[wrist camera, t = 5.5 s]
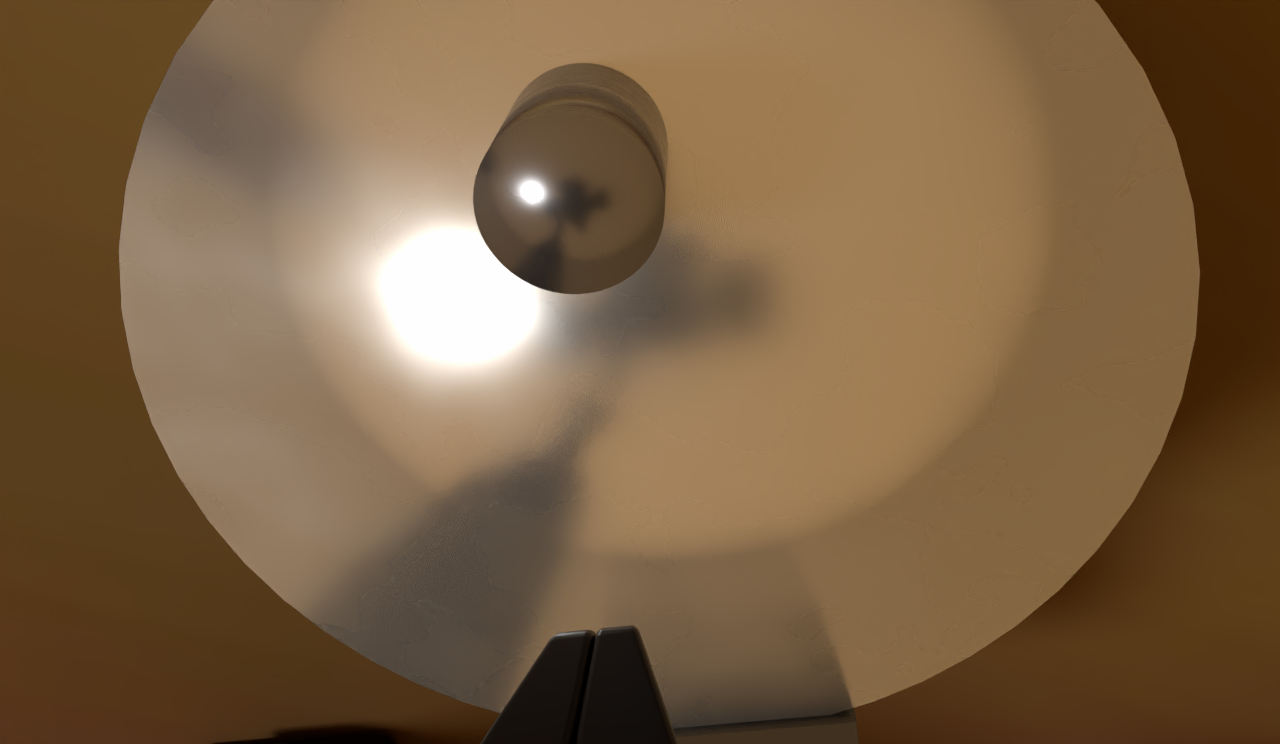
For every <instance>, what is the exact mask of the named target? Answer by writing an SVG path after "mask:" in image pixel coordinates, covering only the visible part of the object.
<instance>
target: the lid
mask: <svg viewBox="0 0 1280 744" xmlns="http://www.w3.org/2000/svg"><path fill="white" fill-rule="evenodd" d="M119 260H120V283H121V307H122V314H123V320H124V325H125V330H126V335H127V340H128V345H129V350H130V356H131V361H132V366H133V370H134V373H135V376H136V379H137V382H138V384H139V387H140V390H141V393H142V396H143V399H144V402H145V405H146V408H147V410H148V413H149V416H150V419H151V422H152V425H153V426H154V428H155V430H156V432H157V434H158V436H159V438H160V440H161V442H162V444H163V446H164V448H165V450H166V452H167V454H168V456H169V458H170V460H171V462H172V464H173V466H174V468H175V470H176V472H177V474H178V476H179V477H180V479H181V480H182V482H183V483H184V485H185V486H186V488H187V489H188V491H189V492H190V494H191V495H192V497H193V498H194V500H195V501H196V503H197V504H198V506H199V507H200V509H201V510H202V512H203V513H204V515H205V516H206V518H207V519H208V521H209V522H210V523H211V524H212V525H213V527H214V528H215V529H216V530H217V531H218V532H219V534H220V535H221V536H222V537H223V538H224V539H225V541H226V542H227V543H228V544H229V545H230V547H231V548H232V549H233V550H234V551H235V552H236V554H237V555H238V556H239V557H240V558H241V559H242V561H243V562H244V563H245V564H246V565H247V566H248V567H249V568H250V569H251V570H253V571H254V572H255V573H256V574H257V575H258V576H259V577H260V578H261V579H262V580H263V581H264V582H265V583H266V584H267V585H268V586H269V587H271V588H272V589H273V590H274V591H275V592H276V593H277V594H278V595H279V596H280V597H281V598H282V599H283V600H285V601H286V602H287V603H288V604H290V605H291V606H292V607H294V608H295V609H296V610H298V611H299V612H300V613H301V614H303V615H304V616H305V617H307V618H308V619H309V620H311V621H312V622H313V623H314V624H316V625H317V626H318V627H320V628H321V629H322V630H324V631H325V632H326V633H328V634H330V635H331V636H333V637H334V638H336V639H338V640H339V641H341V642H342V643H344V644H346V645H347V646H349V647H350V648H352V649H354V650H355V651H357V652H358V653H360V654H362V655H363V656H365V657H366V658H368V659H370V660H371V661H373V662H375V663H377V664H379V665H381V666H383V667H385V668H387V669H389V670H391V671H393V672H395V673H397V674H399V675H401V676H403V677H405V678H407V679H409V680H411V681H413V682H415V683H417V684H420V685H422V686H425V687H427V688H430V689H432V690H435V691H437V692H440V693H442V694H445V695H447V696H450V697H452V698H455V699H458V700H460V701H463V702H465V703H468V704H472V705H475V706H478V707H482V708H485V709H488V710H492V711H495V712H498V713H501V712H502V710H503V709H504V707H505V706H506V704H507V703H508V701H509V700H510V698H511V697H512V695H513V694H514V692H515V691H516V689H517V688H518V686H519V685H520V683H521V682H522V680H523V679H524V677H525V676H526V674H527V673H528V671H529V670H530V668H531V667H532V665H533V664H534V662H535V661H536V659H537V658H538V656H539V655H540V653H541V652H542V650H543V649H544V647H545V646H546V644H547V643H548V641H549V640H550V639H551V637H553V636H554V635H555V634H557V633H560V632H568V631H578V630H593V631H594V632H595V633H597V632H598V631H599V630H600V629H602V628H608V627H618V626H628V625H634V626H636V627H637V628H638V629H639V631H640V634H641V637H642V639H643V642H644V645H645V648H646V651H647V654H648V657H649V660H650V663H651V666H652V669H653V672H654V675H655V678H656V680H657V683H658V686H659V689H660V692H661V695H662V698H663V701H664V704H665V707H666V710H667V713H668V716H669V719H670V721H671V724H672V727H673V730H674V733H675V736H676V739H677V742H678V744H859V742H858V732H857V723H856V717H855V712H854V707H858V706H861V705H864V704H867V703H871V702H874V701H876V700H879V699H881V698H884V697H886V696H888V695H891V694H893V693H896V692H898V691H901V690H903V689H905V688H908V687H910V686H913V685H915V684H918V683H920V682H922V681H925V680H926V679H928V678H930V677H932V676H934V675H936V674H938V673H940V672H942V671H943V670H945V669H947V668H949V667H951V666H953V665H955V664H957V663H959V662H960V661H962V660H964V659H966V658H968V657H970V656H972V655H973V654H975V653H976V652H978V651H979V650H981V649H982V648H984V647H985V646H987V645H988V644H990V643H991V642H993V641H994V640H996V639H997V638H999V637H1000V636H1002V635H1003V634H1005V633H1006V632H1008V631H1009V630H1011V629H1012V628H1014V627H1015V626H1017V625H1018V624H1019V623H1020V622H1021V621H1023V620H1024V619H1025V618H1026V617H1027V616H1029V615H1030V614H1031V613H1032V612H1033V611H1035V610H1036V609H1037V608H1038V607H1039V606H1041V605H1042V604H1043V603H1044V602H1045V601H1047V600H1048V599H1049V598H1050V597H1051V596H1053V595H1054V594H1055V593H1056V592H1057V591H1059V590H1060V589H1061V588H1062V586H1063V585H1064V584H1065V583H1066V582H1067V581H1068V580H1069V579H1070V578H1071V577H1072V576H1073V575H1074V574H1075V573H1076V572H1077V571H1078V570H1079V569H1080V568H1081V567H1082V566H1083V565H1084V563H1085V562H1086V561H1087V560H1088V559H1089V558H1090V557H1091V556H1092V555H1093V554H1094V553H1095V552H1096V551H1097V550H1098V549H1099V547H1100V546H1101V544H1102V543H1103V542H1104V540H1105V539H1106V538H1107V536H1108V535H1109V534H1110V532H1111V531H1112V530H1113V528H1114V527H1115V526H1116V524H1117V523H1118V522H1119V520H1120V519H1121V518H1122V516H1123V515H1124V514H1125V512H1126V511H1127V510H1128V508H1129V507H1130V506H1131V504H1132V503H1133V501H1134V499H1135V497H1136V495H1137V494H1138V492H1139V490H1140V488H1141V486H1142V485H1143V483H1144V481H1145V479H1146V478H1147V476H1148V474H1149V472H1150V470H1151V469H1152V467H1153V465H1154V463H1155V462H1156V460H1157V458H1158V456H1159V454H1160V452H1161V450H1162V447H1163V445H1164V442H1165V440H1166V437H1167V434H1168V432H1169V429H1170V427H1171V424H1172V422H1173V419H1174V416H1175V414H1176V411H1177V409H1178V406H1179V404H1180V401H1181V398H1182V395H1183V390H1184V386H1185V382H1186V377H1187V373H1188V368H1189V364H1190V360H1191V355H1192V351H1193V346H1194V342H1195V338H1196V324H1197V310H1198V295H1199V280H1200V268H1199V257H1198V247H1197V237H1196V226H1195V216H1194V206H1193V202H1192V198H1191V195H1190V191H1189V187H1188V183H1187V180H1186V176H1185V172H1184V169H1183V165H1182V161H1181V158H1180V154H1179V150H1178V146H1177V143H1176V139H1175V136H1174V134H1173V132H1172V130H1171V128H1170V125H1169V123H1168V121H1167V119H1166V117H1165V115H1164V112H1163V110H1162V108H1161V106H1160V104H1159V102H1158V100H1157V97H1156V95H1155V93H1154V91H1153V89H1152V87H1151V84H1150V82H1149V80H1148V78H1147V76H1146V74H1145V72H1144V69H1143V68H1142V67H1141V65H1140V64H1139V62H1138V61H1137V59H1136V58H1135V56H1134V55H1133V53H1132V52H1131V51H1130V49H1129V48H1128V46H1127V45H1126V43H1125V42H1124V40H1123V39H1122V38H1121V36H1120V35H1119V33H1118V32H1117V30H1116V29H1115V27H1114V26H1113V24H1112V23H1111V22H1110V20H1109V19H1108V17H1107V16H1106V14H1105V13H1104V11H1103V10H1102V9H1101V7H1100V6H1099V4H1098V3H1097V2H1096V1H1095V0H213V2H212V3H211V5H210V6H209V8H208V9H207V10H206V12H205V13H204V15H203V16H202V17H201V19H200V20H199V22H198V23H197V25H196V26H195V27H194V29H193V30H192V32H191V33H190V35H189V36H188V37H187V39H186V40H185V42H184V43H183V45H182V46H181V47H180V49H179V50H178V52H177V53H176V55H175V57H174V59H173V61H172V63H171V65H170V67H169V69H168V71H167V73H166V76H165V78H164V80H163V82H162V84H161V86H160V88H159V90H158V92H157V94H156V97H155V99H154V101H153V103H152V105H151V107H150V109H149V111H148V113H147V115H146V118H145V120H144V124H143V127H142V131H141V134H140V138H139V141H138V145H137V148H136V152H135V155H134V159H133V162H132V166H131V169H130V173H129V176H128V180H127V183H126V191H125V200H124V209H123V217H122V226H121V235H120V244H119Z"/></svg>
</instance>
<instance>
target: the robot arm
mask: <svg viewBox="0 0 1280 744" xmlns="http://www.w3.org/2000/svg"><path fill="white" fill-rule="evenodd" d="M271 744H395V743H394V742H393V741H392V740H391V739H390V738H388V737H386V736H383V735H377V734H372V735H361V736H349V737H338V738H327V739H316V740H305V741H293V742H282V743H271ZM480 744H678V742H677V739H676V736H675V733H674V730H673V727H672V724H671V721H670V719H669V716H668V713H667V710H666V707H665V704H664V701H663V698H662V695H661V692H660V689H659V686H658V683H657V680H656V678H655V675H654V672H653V669H652V666H651V663H650V660H649V657H648V654H647V651H646V648H645V645H644V642H643V639H642V637H641V634H640V631H639V629H638V628H637V627H636V626H634V625H628V626H618V627H608V628H602V629H600V630H599V631H598V632H597V633H595V632H594V631H593V630H578V631H568V632H560V633H557V634H555V635H554V636H553V637H551V639H550V640H549V641H548V643H547V644H546V646H545V647H544V649H543V650H542V652H541V653H540V655H539V656H538V658H537V659H536V661H535V662H534V664H533V665H532V667H531V668H530V670H529V671H528V673H527V674H526V676H525V677H524V679H523V680H522V682H521V683H520V685H519V686H518V688H517V689H516V691H515V692H514V694H513V695H512V697H511V698H510V700H509V701H508V703H507V704H506V706H505V707H504V709H503V710H502V712H501V713H500V715H499V716H498V718H497V719H496V721H495V722H494V724H493V725H492V727H491V728H490V730H489V731H488V733H487V734H486V736H485V737H484V739H483V740H482V742H481V743H480Z"/></svg>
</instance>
